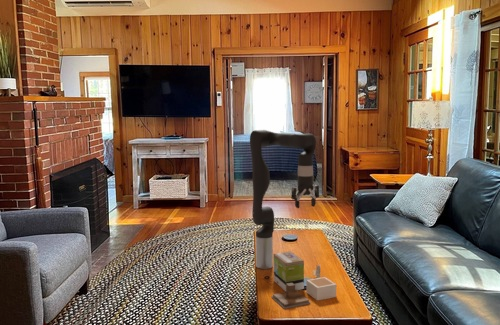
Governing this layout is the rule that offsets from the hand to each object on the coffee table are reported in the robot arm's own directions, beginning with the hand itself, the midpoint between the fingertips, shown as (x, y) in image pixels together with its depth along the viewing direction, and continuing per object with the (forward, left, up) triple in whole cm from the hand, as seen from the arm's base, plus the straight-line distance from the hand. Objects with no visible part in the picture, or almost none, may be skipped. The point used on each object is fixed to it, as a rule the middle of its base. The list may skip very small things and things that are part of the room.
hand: (305, 207), depth 217 cm
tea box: (+1, -10, -38) cm, 40 cm away
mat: (+17, -17, -38) cm, 45 cm away
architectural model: (0, +8, -39) cm, 40 cm away
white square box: (+17, -1, -38) cm, 42 cm away
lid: (+17, -17, -38) cm, 45 cm away
